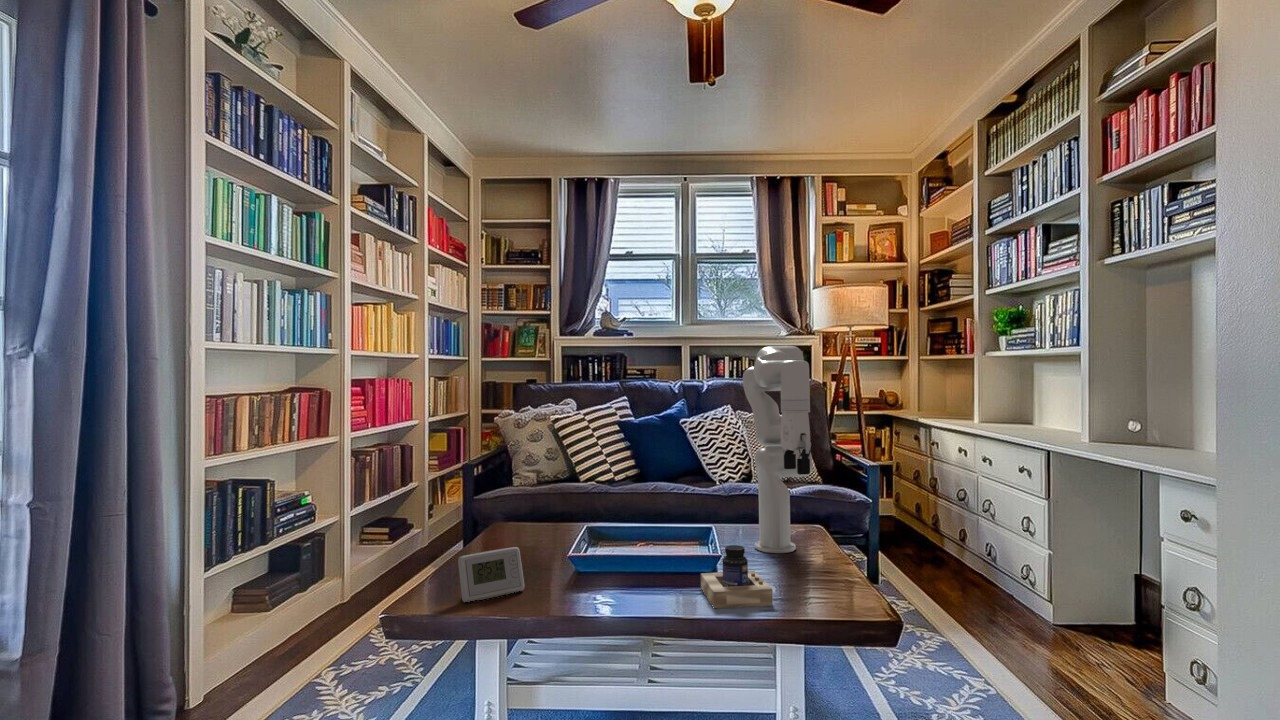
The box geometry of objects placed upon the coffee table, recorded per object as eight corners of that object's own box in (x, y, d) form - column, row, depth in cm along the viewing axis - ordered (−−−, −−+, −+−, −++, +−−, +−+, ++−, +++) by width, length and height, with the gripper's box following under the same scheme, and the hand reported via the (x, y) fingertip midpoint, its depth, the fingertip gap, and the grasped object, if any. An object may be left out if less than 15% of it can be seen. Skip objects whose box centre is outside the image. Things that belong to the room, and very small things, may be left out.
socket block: (700, 588, 157) (700, 571, 158) (754, 585, 159) (754, 568, 159) (714, 608, 143) (713, 589, 144) (772, 605, 145) (772, 586, 145)
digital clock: (460, 606, 147) (459, 560, 148) (455, 594, 156) (455, 551, 156) (527, 596, 154) (527, 552, 154) (520, 585, 162) (520, 544, 162)
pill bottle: (747, 598, 148) (747, 551, 148) (722, 596, 149) (721, 550, 149) (748, 589, 154) (747, 544, 154) (723, 588, 155) (723, 543, 155)
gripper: (770, 405, 173) (772, 467, 173) (793, 408, 156) (795, 476, 156) (796, 405, 174) (798, 466, 174) (822, 407, 157) (823, 476, 156)
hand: (796, 471), depth 165 cm, fingers open, 9 cm apart
